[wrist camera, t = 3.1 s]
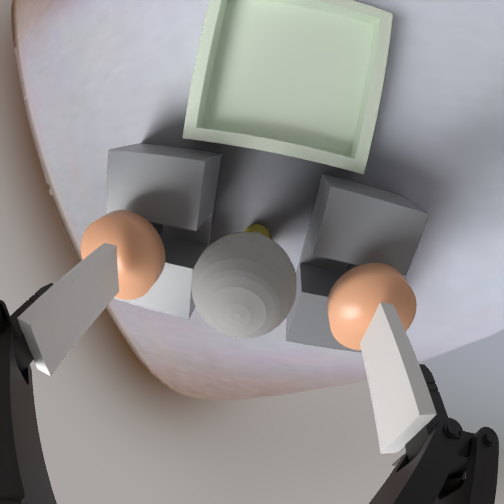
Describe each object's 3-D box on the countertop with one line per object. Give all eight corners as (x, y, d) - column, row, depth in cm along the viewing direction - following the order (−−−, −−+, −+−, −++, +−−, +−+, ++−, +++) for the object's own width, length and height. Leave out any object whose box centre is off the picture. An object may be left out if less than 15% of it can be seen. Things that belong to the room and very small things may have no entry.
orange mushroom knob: (332, 228, 19) (347, 267, 14) (399, 244, 18) (430, 285, 13) (312, 292, 21) (317, 344, 16) (374, 304, 21) (393, 354, 16)
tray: (221, -8, 14) (214, -20, 12) (383, 23, 14) (392, 13, 12) (192, 136, 19) (182, 138, 17) (356, 169, 19) (363, 174, 17)
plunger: (124, 188, 19) (78, 211, 14) (190, 199, 19) (156, 227, 14) (124, 251, 21) (85, 287, 16) (184, 265, 21) (155, 309, 16)
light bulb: (227, 269, 23) (191, 358, 14) (216, 202, 21) (164, 264, 12) (296, 266, 23) (298, 359, 14) (292, 197, 20) (295, 258, 11)
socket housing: (140, 143, 20) (108, 149, 16) (403, 196, 19) (428, 214, 15) (135, 270, 25) (111, 297, 21) (358, 318, 24) (367, 353, 20)
